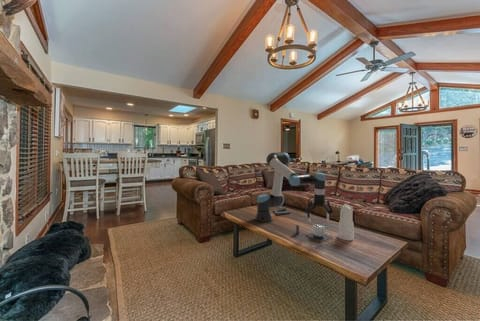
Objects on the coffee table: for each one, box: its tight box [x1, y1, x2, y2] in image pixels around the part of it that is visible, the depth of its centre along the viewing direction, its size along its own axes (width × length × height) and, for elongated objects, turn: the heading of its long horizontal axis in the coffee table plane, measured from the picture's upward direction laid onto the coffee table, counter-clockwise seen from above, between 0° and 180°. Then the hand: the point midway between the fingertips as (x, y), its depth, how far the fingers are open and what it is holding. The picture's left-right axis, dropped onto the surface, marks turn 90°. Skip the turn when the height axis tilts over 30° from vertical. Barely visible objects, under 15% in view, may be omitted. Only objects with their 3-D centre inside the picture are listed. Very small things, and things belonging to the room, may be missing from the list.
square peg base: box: [304, 226, 334, 244], centre depth 163 cm, size 14×14×9 cm
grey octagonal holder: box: [312, 223, 326, 236], centre depth 163 cm, size 8×8×6 cm
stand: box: [293, 224, 302, 237], centre depth 168 cm, size 6×6×8 cm
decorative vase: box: [337, 203, 355, 241], centre depth 163 cm, size 11×11×25 cm
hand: (318, 221), depth 163 cm, fingers open, 13 cm apart
